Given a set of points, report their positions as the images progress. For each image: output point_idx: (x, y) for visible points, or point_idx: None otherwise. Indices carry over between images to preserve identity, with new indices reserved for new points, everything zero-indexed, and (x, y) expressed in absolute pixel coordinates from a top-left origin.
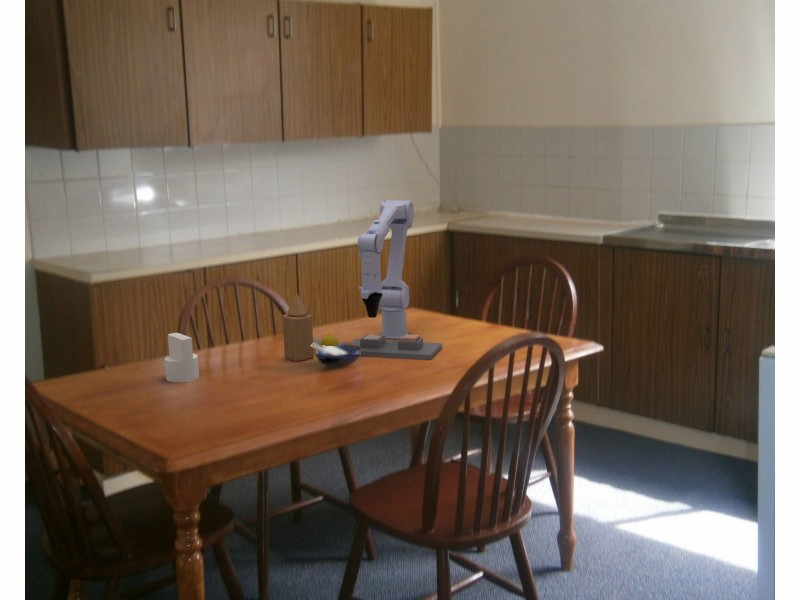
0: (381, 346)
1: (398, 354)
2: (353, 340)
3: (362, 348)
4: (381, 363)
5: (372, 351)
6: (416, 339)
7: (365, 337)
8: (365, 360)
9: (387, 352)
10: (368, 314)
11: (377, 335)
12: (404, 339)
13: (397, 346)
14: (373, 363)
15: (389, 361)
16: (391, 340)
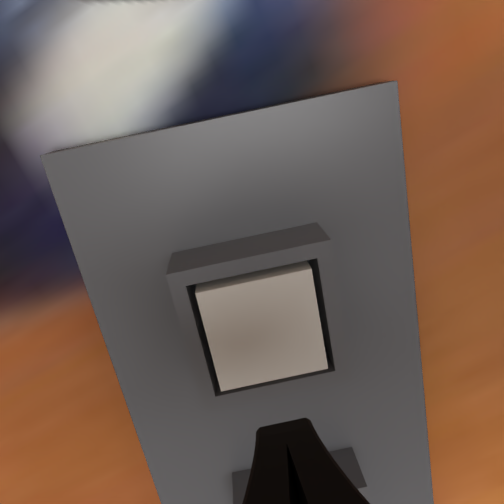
0: None
1: (163, 502)
2: (335, 94)
3: (157, 280)
4: (30, 461)
5: (122, 373)
6: None
7: (228, 290)
8: (31, 362)
9: (148, 454)
10: (256, 456)
11: (321, 339)
12: None
13: None
14: (5, 428)
15: (87, 475)
16: (418, 343)
